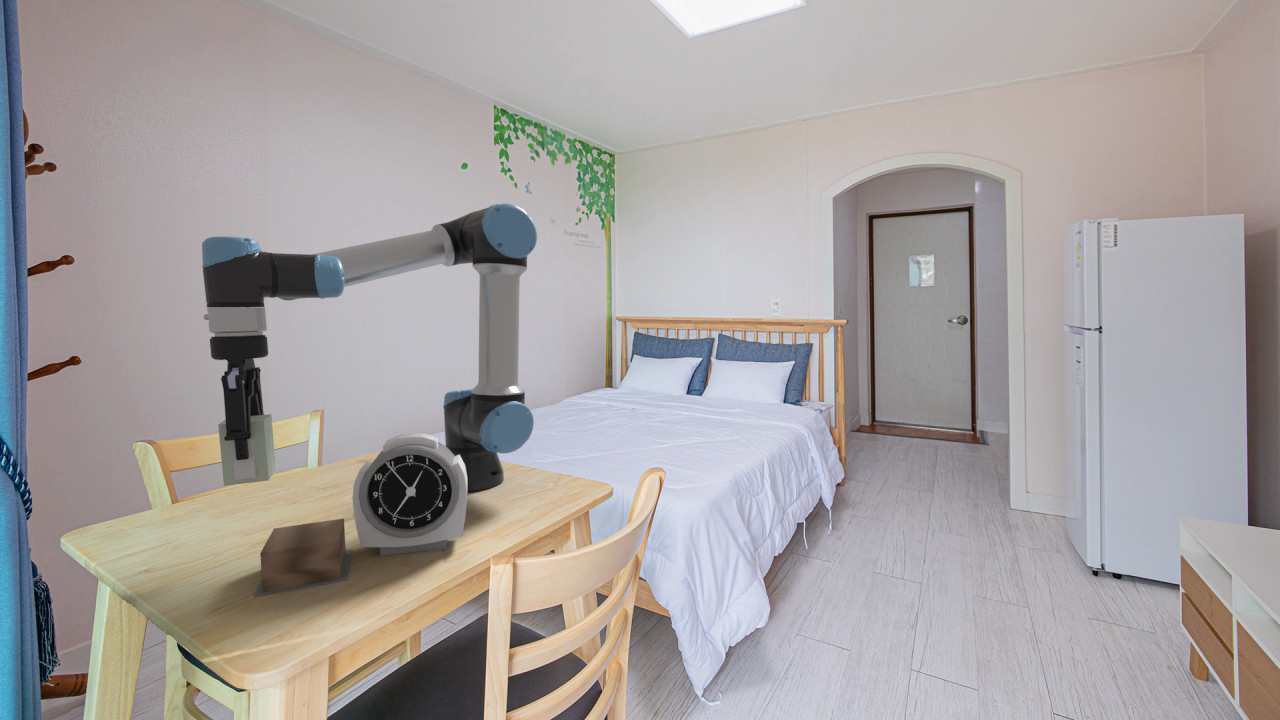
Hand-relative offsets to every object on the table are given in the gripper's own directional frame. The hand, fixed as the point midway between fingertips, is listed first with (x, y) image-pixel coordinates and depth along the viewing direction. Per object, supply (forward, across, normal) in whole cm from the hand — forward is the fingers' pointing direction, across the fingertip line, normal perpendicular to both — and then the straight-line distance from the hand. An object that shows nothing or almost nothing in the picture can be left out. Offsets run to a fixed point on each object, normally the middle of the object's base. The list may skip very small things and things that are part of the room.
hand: (250, 472), depth 89 cm
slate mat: (+15, +10, +8) cm, 20 cm away
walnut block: (+14, +10, +8) cm, 20 cm away
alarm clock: (+15, +7, +24) cm, 30 cm away
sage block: (+1, 0, 0) cm, 1 cm away
